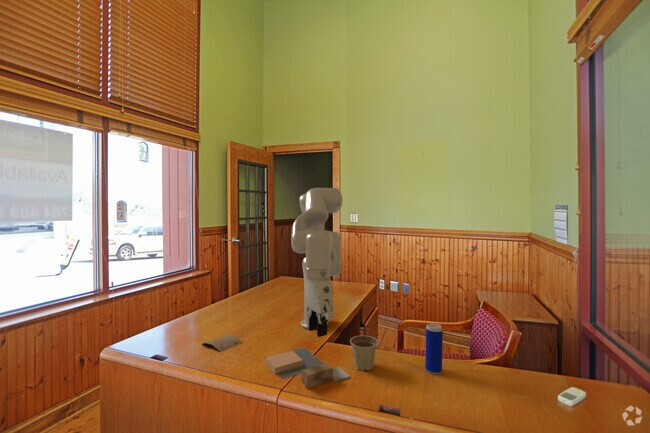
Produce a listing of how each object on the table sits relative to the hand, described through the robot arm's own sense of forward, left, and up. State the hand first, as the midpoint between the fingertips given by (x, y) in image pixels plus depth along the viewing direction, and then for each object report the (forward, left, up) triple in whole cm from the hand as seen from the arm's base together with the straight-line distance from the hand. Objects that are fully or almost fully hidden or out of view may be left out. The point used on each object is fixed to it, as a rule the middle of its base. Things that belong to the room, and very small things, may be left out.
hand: (317, 332), depth 96 cm
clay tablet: (+19, -41, -16) cm, 48 cm away
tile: (+5, -18, -14) cm, 23 cm away
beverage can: (-36, +14, -16) cm, 42 cm away
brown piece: (-3, 0, -15) cm, 16 cm away
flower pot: (-18, 0, -16) cm, 24 cm away
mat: (+1, -14, -15) cm, 21 cm away
